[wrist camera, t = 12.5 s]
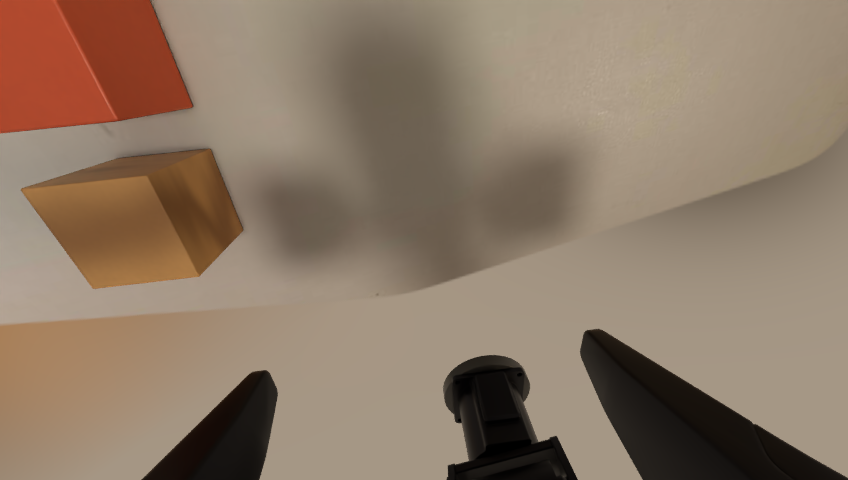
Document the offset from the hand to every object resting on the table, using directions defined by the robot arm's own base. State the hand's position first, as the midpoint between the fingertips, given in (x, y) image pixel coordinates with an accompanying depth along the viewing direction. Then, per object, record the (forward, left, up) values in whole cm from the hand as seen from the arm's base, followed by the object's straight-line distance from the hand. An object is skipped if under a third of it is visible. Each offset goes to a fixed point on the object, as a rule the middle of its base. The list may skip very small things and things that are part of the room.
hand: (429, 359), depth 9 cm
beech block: (+2, +13, -12) cm, 18 cm away
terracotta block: (+9, +13, -12) cm, 20 cm away
